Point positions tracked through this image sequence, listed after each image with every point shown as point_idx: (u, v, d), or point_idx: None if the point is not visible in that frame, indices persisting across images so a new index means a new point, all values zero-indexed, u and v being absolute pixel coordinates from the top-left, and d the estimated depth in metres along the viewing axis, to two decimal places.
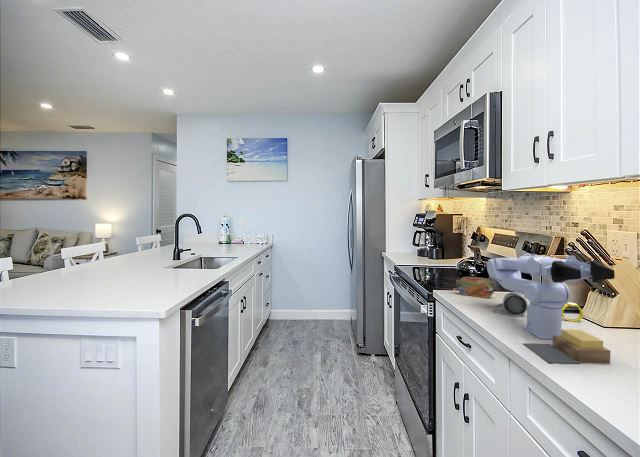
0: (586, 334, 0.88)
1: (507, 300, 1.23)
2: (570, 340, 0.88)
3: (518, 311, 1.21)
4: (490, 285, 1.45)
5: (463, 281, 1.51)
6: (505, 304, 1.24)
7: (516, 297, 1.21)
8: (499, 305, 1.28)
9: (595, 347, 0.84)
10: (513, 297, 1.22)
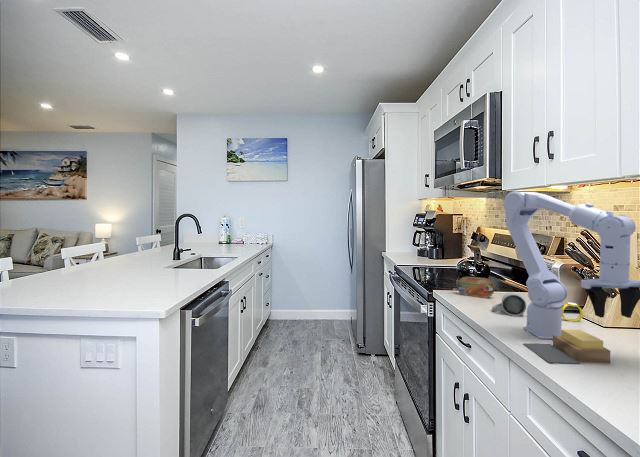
0: (586, 334, 0.88)
1: (506, 300, 1.23)
2: (570, 340, 0.88)
3: (517, 311, 1.21)
4: (490, 285, 1.45)
5: (463, 281, 1.51)
6: (504, 304, 1.24)
7: (515, 297, 1.22)
8: (498, 305, 1.28)
9: (595, 347, 0.84)
10: (512, 297, 1.22)
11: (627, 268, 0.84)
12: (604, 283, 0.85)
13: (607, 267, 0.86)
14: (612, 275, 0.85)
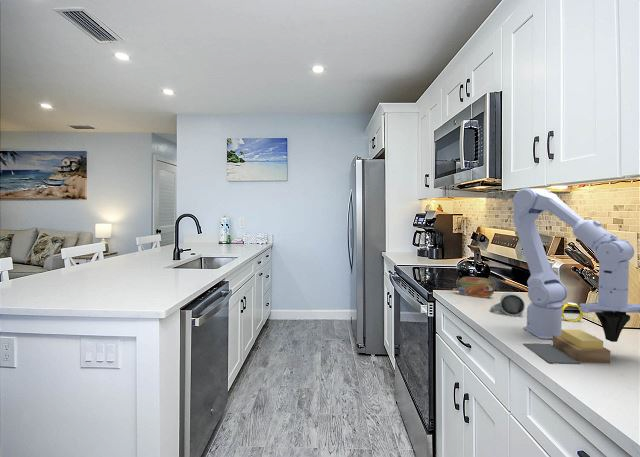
0: (586, 334, 0.88)
1: (504, 300, 1.23)
2: (570, 340, 0.88)
3: (515, 311, 1.21)
4: (490, 285, 1.45)
5: (463, 281, 1.51)
6: (502, 304, 1.24)
7: (513, 297, 1.22)
8: (496, 305, 1.28)
9: (595, 347, 0.84)
10: (510, 297, 1.22)
11: (626, 293, 0.84)
12: (603, 308, 0.85)
13: (606, 292, 0.86)
14: (610, 299, 0.85)
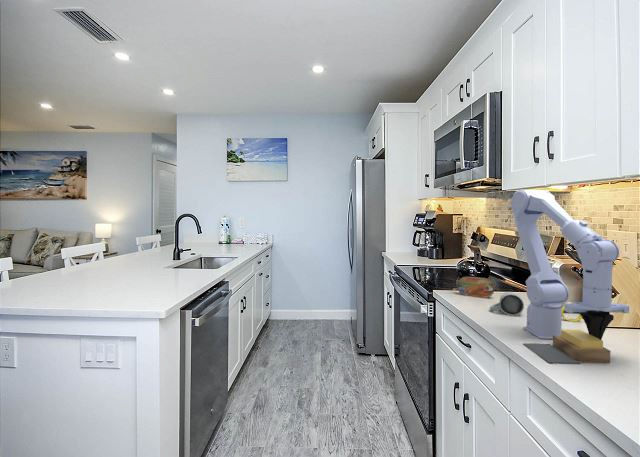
0: (586, 334, 0.88)
1: (503, 300, 1.23)
2: (570, 340, 0.88)
3: (514, 311, 1.22)
4: (490, 285, 1.45)
5: (463, 281, 1.51)
6: (502, 304, 1.24)
7: (512, 297, 1.22)
8: (496, 305, 1.29)
9: (595, 347, 0.84)
10: (509, 297, 1.22)
11: (609, 293, 0.85)
12: (586, 308, 0.86)
13: (589, 292, 0.86)
14: (594, 299, 0.85)
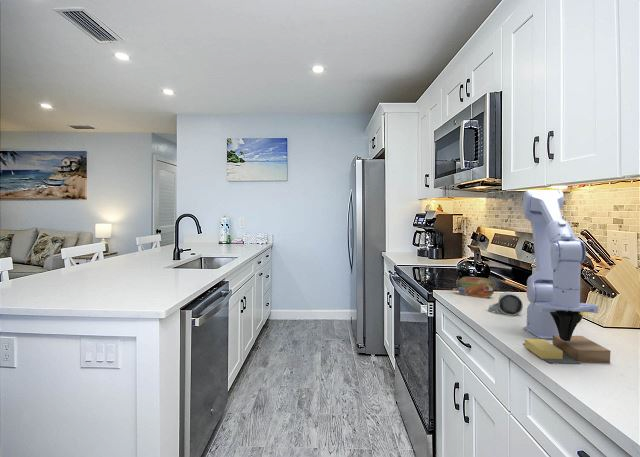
0: None
1: (502, 300, 1.24)
2: None
3: (513, 310, 1.22)
4: (490, 285, 1.45)
5: (463, 281, 1.51)
6: (500, 304, 1.25)
7: (511, 297, 1.22)
8: (495, 305, 1.29)
9: (549, 352, 0.85)
10: (508, 297, 1.22)
11: (577, 293, 0.85)
12: (555, 307, 0.86)
13: (558, 291, 0.87)
14: (562, 299, 0.86)
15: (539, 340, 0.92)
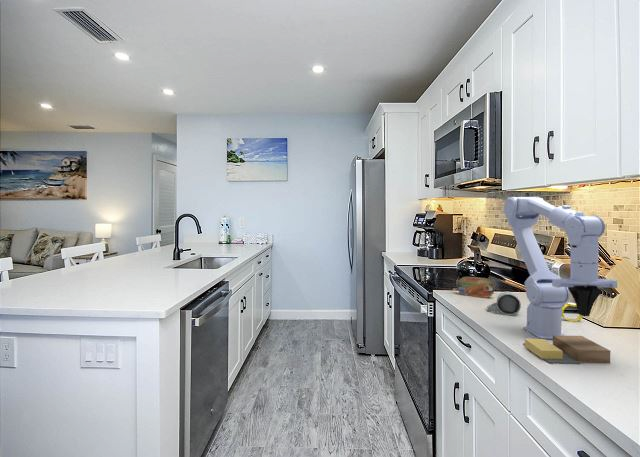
0: None
1: (501, 299, 1.24)
2: None
3: (511, 310, 1.22)
4: (490, 285, 1.45)
5: (463, 281, 1.51)
6: (499, 303, 1.25)
7: (509, 296, 1.22)
8: (493, 304, 1.29)
9: (549, 352, 0.85)
10: (506, 296, 1.23)
11: (595, 267, 0.86)
12: (573, 282, 0.87)
13: (576, 266, 0.87)
14: (581, 274, 0.86)
15: (539, 340, 0.92)
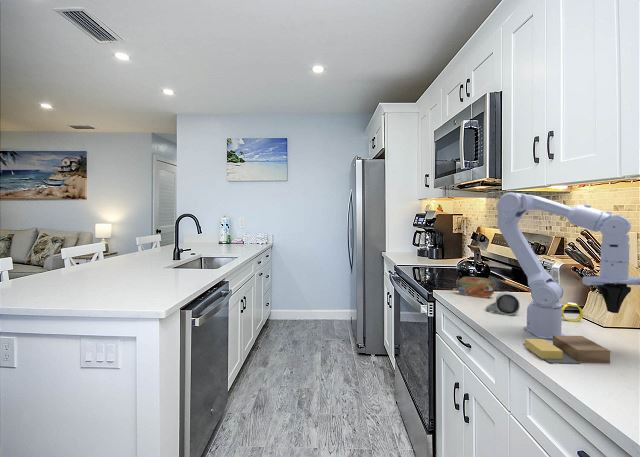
0: None
1: (500, 299, 1.24)
2: None
3: (510, 310, 1.22)
4: (490, 285, 1.45)
5: (463, 281, 1.51)
6: (498, 303, 1.25)
7: (508, 296, 1.23)
8: (492, 304, 1.29)
9: (549, 352, 0.85)
10: (505, 296, 1.23)
11: (626, 265, 0.88)
12: (604, 280, 0.89)
13: (607, 265, 0.89)
14: (612, 272, 0.89)
15: (539, 340, 0.92)
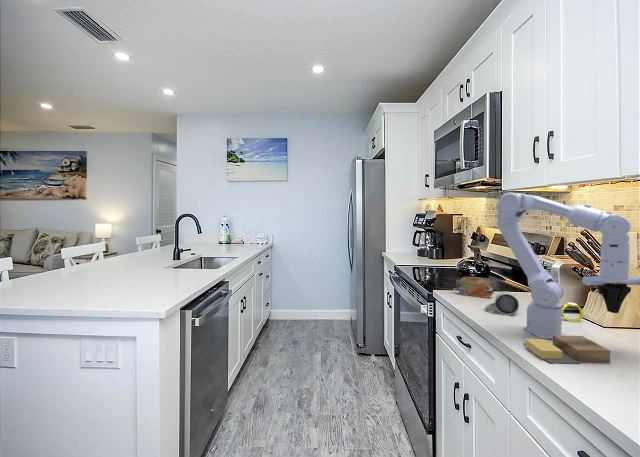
0: None
1: (499, 299, 1.24)
2: None
3: (510, 310, 1.22)
4: (490, 285, 1.45)
5: (463, 281, 1.51)
6: (497, 303, 1.25)
7: (508, 296, 1.23)
8: (491, 304, 1.29)
9: (549, 352, 0.85)
10: (505, 296, 1.23)
11: (626, 265, 0.88)
12: (604, 280, 0.89)
13: (607, 265, 0.89)
14: (612, 272, 0.89)
15: (539, 340, 0.92)
